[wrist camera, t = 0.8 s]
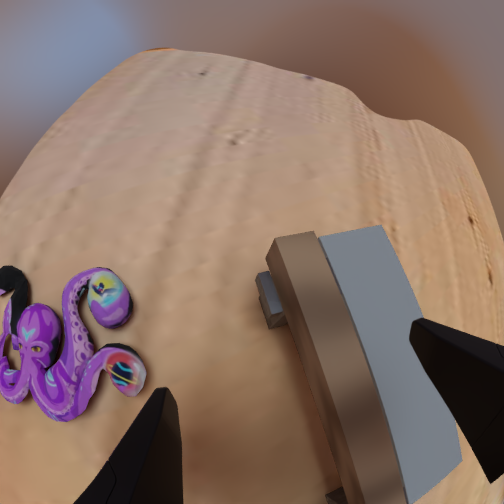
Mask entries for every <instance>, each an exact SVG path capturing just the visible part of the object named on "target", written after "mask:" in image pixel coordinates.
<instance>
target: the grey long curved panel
mask: <svg viewBox="0 0 504 504" xmlns="http://www.w3.org/2000/svg"><path fill="white" fill-rule="evenodd" d="M318 242H319V244H320V246H321V248H322V251H323V253H324V255H325V258H328V260H329V262H330V265H331V267H332V269H333V272H334V274H335V276H336V279H337V281H338V284H339V286H340V289H341V291H342V294H341V296H342V299H343V301H344V304H345V306H346V309H347V312H348V314H349V317H350V319H351V322H352V325H353V327H354V330H355V333H356V335H357V338H358V341H359V343H360V346H361V349H362V352H363V355H364V357H365V360H366V363H367V366H368V369H369V372H370V375H371V378H372V381H373V384H374V387H375V390H376V393H377V396H378V399H379V402H380V406H381V409H382V412H383V415H384V419H385V422H386V425H387V429H388V432H389V436H390V439H391V443H392V446H393V450H394V454H395V458H396V461H397V465H398V469H399V473H400V477H401V482H402V486H403V487H405V490H406V495H407V500H408V504H413V503H414V502H415V501H417V500H418V499H419V498H421V497H422V496H423V495H424V494H426V493H427V492H428V491H429V490H431V489H432V488H433V487H434V486H435V485H437V484H438V483H439V482H440V481H441V480H442V479H443V478H445V477H446V476H447V475H448V474H449V473H450V472H451V471H452V470H453V469H454V468H455V467H456V466H457V465H458V464H459V463H460V462H462V455H461V449H460V443H459V438H458V433H457V428H456V423H455V418H454V417H453V415H452V413H451V412H450V410H449V409H448V407H447V405H446V404H445V402H444V400H443V399H442V397H441V396H440V394H439V393H438V391H437V389H436V388H435V386H434V385H433V383H432V382H431V380H430V379H429V377H428V375H427V374H426V372H425V370H424V369H423V367H422V365H421V363H420V361H419V359H418V357H417V355H416V353H415V351H414V350H413V348H412V346H411V344H410V342H409V334H410V329H411V324H412V322H413V321H414V320H416V319H418V318H424V317H423V315H422V312H421V310H420V307H419V305H418V302H417V300H416V297H415V295H414V293H413V290H412V288H411V286H410V283H409V281H408V279H407V277H406V274H405V272H404V270H403V268H402V266H401V263H400V261H399V259H398V257H397V255H396V253H395V251H394V249H393V247H392V245H391V243H390V241H389V239H388V237H387V235H386V233H385V231H384V229H383V227H382V225H378V226H373V227H367V228H362V229H357V230H352V231H347V232H342V233H336V234H331V235H326V236H321V237H319V238H318Z"/></svg>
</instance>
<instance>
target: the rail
mask: <svg viewBox="0 0 504 504" xmlns="http://www.w3.org/2000/svg"><path fill="white" fill-rule="evenodd" d="M266 261H267V264H268V267H269V270H270V273H271V276H272V278H273V281H274V284H275V287H276V290H277V293H278V295H279V298H280V301H281V304H282V307H283V310H284V313H285V316H286V318H287V321H288V324H289V327H290V330H291V333H292V336H293V339H294V342H295V345H296V347H297V350H298V353H299V356H300V359H301V362H302V365H303V368H304V371H305V374H306V377H307V380H308V383H309V386H310V389H311V391H312V394H313V397H314V400H315V403H316V406H317V409H318V412H319V415H320V418H321V421H322V424H323V427H324V430H325V433H326V436H327V439H328V442H329V445H330V448H331V451H332V455H333V458H334V461H335V464H336V467H337V470H338V473H339V476H340V479H341V482H342V485H343V488H344V491H345V495H346V498H347V501H348V504H406V499H405V495H404V490H403V486H402V482H401V477H400V473H399V469H398V465H397V461H396V458H395V454H394V450H393V446H392V443H391V439H390V436H389V432H388V429H387V425H386V422H385V419H384V415H383V412H382V409H381V406H380V402H379V399H378V396H377V393H376V390H375V387H374V384H373V381H372V378H371V375H370V372H369V369H368V366H367V363H366V360H365V357H364V355H363V352H362V349H361V346H360V343H359V341H358V338H357V335H356V333H355V330H354V327H353V325H352V322H351V319H350V317H349V314H348V312H347V309H346V306H345V304H344V301H343V299H342V296H341V294H340V291H339V289H338V286H337V284H336V282H335V279H334V277H333V274H332V272H331V270H330V267H329V265H328V262H327V260H326V258H325V255H324V253H323V251H322V248H321V246H320V244H319V242H318V239H317V237H316V235H315V233H314V231H311V232H305V233H300V234H294V235H289V236H283V237H278V238H275V239H274V241H273V243H272V245H271V247H270V249H269V252H268V254H267V256H266Z"/></svg>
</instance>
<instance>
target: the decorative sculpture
mask: <svg viewBox="0 0 504 504" xmlns="http://www.w3.org/2000/svg"><path fill="white" fill-rule="evenodd" d="M13 288H15V291H14V293H13V295H12V296H11V298H10V300H9V302H8V304H7V306H6V309H5V311H4V316H3V333H2V335H1V336H0V392H1V394H2V396H3V397H4V398H5V399H6V400H7V401H9V402H11V403H14V404H19V403H20V402H21V401H22V400H23V399H24V398H25V397H26V395H27V394H28V391H29V389H30V391H31V394H32V396H33V399H34V400H35V402H36V403H37V404H38V406H39V407H40V408H41V410H42V411H43V412H44V413H45V414H46V415H47V416H48V417H49V418H51V419H53V420H55V421H62V422H67V421H69V420H72V419H74V418H75V417H77V416H79V415H80V414H81V413H82V412H83V411H84V410H85V409H86V407H87V404H88V401H89V399H90V398H91V396H92V395H93V393H94V392H95V389H96V385H97V381H98V377H99V373H100V371H101V370H102V369H104V370H105V371H107V372H108V373H109V375H110V378H111V380H112V383H113V385H114V386H115V387H116V388H117V389H118V390H119V391H121V392H122V393H123V394H125V395H126V396H127V397H130V396H136V395H137V394H138V393H139V392H140V390H141V389H142V388H143V386H144V381H145V377H146V370H145V367H144V365H143V361H142V359H141V358H140V357H139V355H138V354H137V352H136V351H134V350H133V349H132V348H131V347H130V346H127V345H124V344H120V343H112V344H106V345H105V346H103V347H102V348H100V349H99V350H98V351H97V352H96V353H95V354H94V346H93V341H92V339H91V337H90V335H89V332H88V330H87V329H86V327H85V325H84V324H83V322H82V321H81V319H80V317H79V314H78V310H77V306H78V302H79V299H80V297H81V296H82V295H83V293H84V292H85V290H86V289H88V290H89V291H88V304H89V308H90V310H91V312H92V314H93V316H94V318H95V319H96V321H97V322H98V323H99V324H100V325H102V326H103V327H105V328H109V329H112V328H117V327H119V326H121V325H122V324H124V323H125V322H126V321H127V319H128V318H129V316H130V315H131V312H132V308H133V302H132V299H131V296H130V293H129V291H128V290H127V288H126V287H125V285H124V284H123V283H122V281H121V280H120V279H119V278H118V276H117V275H116V274H115V273H114V272H113V271H112V270H110V269H108V268H101V267H97V268H92V269H88V270H86V271H83V272H81V273H79V274H77V275H75V276H74V277H73V278H71V280H70V281H69V282H68V283H67V284H66V286H65V288H64V291H63V295H62V311H63V319H64V331H65V344H64V349H63V352H62V355H61V356H60V358H59V360H58V361H57V362H56V364H55V365H53V366H52V367H51V368H49V369H48V371H47V372H46V367H48V366H50V365H51V364H52V363H53V362H54V360H55V357H56V354H57V350H58V347H59V343H60V338H61V323H60V319H59V317H58V316H57V314H56V313H55V312H54V311H53V310H52V309H51V308H50V307H49V306H47V305H44V304H40V303H35V304H32V305H30V306H28V307H27V308H26V309H25V306H26V302H27V293H28V285H27V280H26V278H25V277H24V275H23V273H22V271H21V270H19V269H17V268H15V267H13V266H3V267H2V268H1V269H0V295H2V294H3V293H5V292H8V291H11V290H12V289H13ZM9 333H10V334H11V335H12V344H13V349H14V350H19V352H20V357H21V370H10V365H9V363H8V360H7V357H6V356H4V357H2V356H3V347H4V342H5V338H6V336H7V335H8V334H9ZM93 354H94V355H93ZM8 383H15V385H14V386H12V385H9V384H8Z"/></svg>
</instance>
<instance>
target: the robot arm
mask: <svg viewBox="0 0 504 504" xmlns="http://www.w3.org/2000/svg"><path fill="white" fill-rule="evenodd" d="M409 342H410V344H411V346H412V348H413V350H414V351H415V353H416V355H417V357H418V359H419V361H420V363H421V365H422V367H423V369H424V370H425V372H426V374H427V375H428V377H429V379H430V380H431V382H432V383H433V385H434V386H435V388H436V389H437V391H438V393H439V394H440V396H441V397H442V399H443V400H444V402H445V404H446V405H447V407H448V409H449V410H450V412H451V413H452V415H453V417H454V418H455V420H456V422H457V424H458V425H459V427H460V429H461V430H462V432H463V434H464V436H465V437H466V439H467V441H468V443H469V444H470V446H471V447H472V450H473V452H474V454H475V456H476V458H477V459H478V461H479V463H480V465H481V467H482V469H483V471H484V473H485V475H486V477H487V479H488V481H489V482H490V484H491V483H493V482H494V481H495V480H496V479H498V478H499V477H500V476H501V475H503V474H504V346H502V345H499V344H495V343H493V342H491V341H488V340H485V339H482V338H479V337H476V336H473V335H470V334H468V333H465V332H462V331H459V330H456V329H453V328H450V327H448V326H445V325H442V324H439V323H436V322H433V321H431V320H428V319H425V318H418V319H416V320H414V321H413V322H412V324H411V329H410V334H409ZM108 460H109V461H107V462H106V463H105V464H104V466H103V467H102V469H101V470H100V472H99V473H98V474H97V476H96V477H95V479H94V480H93V481H92V482H91V484H90V485H89V486H88V487H87V488H86V490H85V491H84V492H83V493H82V494H81V495H80V496H79V498H78V499H77V500H76V501H75V502H74V503H73V504H183V478H182V441H181V433H180V425H179V416H178V407H177V403H176V400H175V399H174V397H173V395H172V394H171V392H170V390H169V389H168V388H167V387H162V388H156V389H155V390H154V392H153V393H152V395H151V396H150V398H149V399H148V401H147V402H146V404H145V405H144V407H143V408H142V410H141V411H140V412H139V414H138V415H137V417H136V418H135V420H134V421H133V423H132V424H131V426H130V427H129V429H128V430H127V432H126V433H125V435H124V436H123V438H122V439H121V441H120V442H119V444H118V445H117V447H116V448H115V450H114V451H113V453H112V454H111V456H110V457H109V459H108Z"/></svg>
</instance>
